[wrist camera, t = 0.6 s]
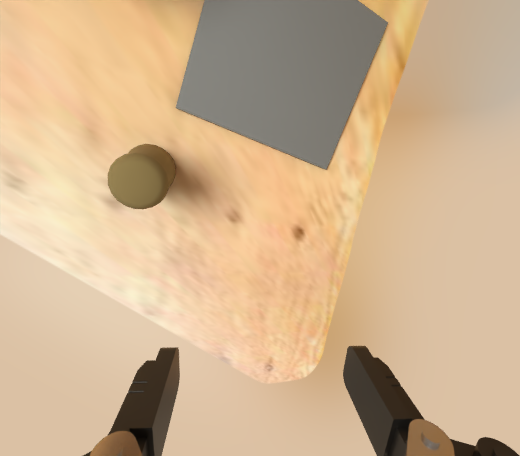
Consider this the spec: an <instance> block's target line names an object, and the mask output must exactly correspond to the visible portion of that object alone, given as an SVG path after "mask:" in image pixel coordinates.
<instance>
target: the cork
mask: <svg viewBox="0 0 520 456" xmlns="http://www.w3.org/2000/svg"><path fill="white" fill-rule="evenodd" d="M175 171H176V168H175V164H174V161H173V159H172V158H171V156H170V155H169V154H168V153H167V152H166V151H165V150H164V149H162V148H160V147H158V146H156V145H150V144H144V145H139V146H137V147H135V148H133V149H132V150H131V151H130V152H129V153H128V154H125V155H123V156H121V157H119V158H118V159H116V160H115V162H114V163H113V164H112V165H111V167H110V169H109V172H108V186H109V188H110V191H111V193H112V194H113V196H114V197H115V198H116V199H117V200H118V201H119V202H121V203H122V204H123V205H125V206H128V207H131V208H133V209H146V208H150V207H153V206H155V205H157V204H159V203H160V202H161V201H162V200H163V199H164V197H165V196H166V194H167V191H168V188H169V186H170V185H171V184H172V182H173V180H174V178H175Z"/></svg>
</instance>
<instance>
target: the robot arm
mask: <svg viewBox="0 0 520 456" xmlns="http://www.w3.org/2000/svg"><path fill="white" fill-rule="evenodd" d="M179 377H180V373H179V350H178V348H161V349H160V351H159V353H158V356H157V358H156V361H146V362H145V363H144V365H142V367H140V369H139V370H138V371H137V373H136V375H135V377H134V380H133V383H132V384H131V386H130V389H129V391H128V393H127V395H126V397H125V400H124V402H123V404H122V406H121V409H120V411H119V413H118V415H117V418H116V420H115V422H114V424H113V426H112V428H111V431H110V432H109V434H108V436H106V437H105V438H103V439H102V440H101V441H100V442H99V443H98V444H97V445H96V446H95V447H94V449H93V450H92V451H91V452H89V453H87V454H86V455H84V456H161V455H162V451H163V447H164V443H165V439H166V435H167V431H168V427H169V423H170V419H171V415H172V411H173V407H174V403H175V399H176V395H177V391H178V386H179ZM343 377H344V383H345V386H346V388H347V390H348V392H349V394H350V397H351V399H352V401H353V404H354V406H355V408H356V410H357V412H358V415H359V417H360V419H361V421H362V423H363V426H364V428H365V430H366V432H367V435H368V437H369V439H370V441H371V443H372V445H373V448H374V450H375V452H376V454H377V456H519V455H518V454H517V453H516V452H515V451H514V450H512V449H511V448H510V447H508V446H507V445H505V444H504V443H502V442H500V441H498V440H495V439H492V438H487V437H484V438H480V439H479V440H478V442H477V445H476V446H473V445H469V444H466V443H462V442H459V441H455V440H452V439H449V437H448V436H447V435H446V434H445V432H443V431H442V430H441V429H440V428H439V427H438V426H436V425H435V424H433V423H431V422H429V421H426V420H424V418H423V417H422V415H421V414H420V412H419V411H418V410H417V408H416V407H415V405H414V404H413V402H412V401H411V399H410V398H409V397H408V395H407V393H406V392H405V391H404V389H403V388H402V387H401V385H400V383H399V382H398V380H397V379H396V378H395V376H394V375H393V373H392V372H391V370H390V369H389V367H388V366H387V365H386V364H385V363H383V362H382V361H381V360H380V359H379V358H373V356H372V355H371V353H370V352H369V350H368V349H367V347H366V346H349V347H348V349H347V355H346V360H345V365H344V372H343Z"/></svg>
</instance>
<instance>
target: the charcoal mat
mask: <svg viewBox="0 0 520 456" xmlns="http://www.w3.org/2000/svg"><path fill="white" fill-rule="evenodd" d="M387 24H388V22H386V21H385V20H384V19H382V18H381V17H380V16H378V15H377V14H376V13H374V12H373V11H371V10H370V9H369V8H367V7H366V6H365V5H363V4H362V3H361V2H359V1H358V0H205V1H204V5H203V8H202V12H201V16H200V20H199V23H198V27H197V31H196V34H195V38H194V42H193V46H192V49H191V53H190V57H189V60H188V64H187V68H186V72H185V75H184V79H183V83H182V87H181V90H180V94H179V98H178V101H177V105H176V108H177V109H180V110H182V111H184V112H187V113H189V114H192V115H194V116H197V117H199V118H201V119H204V120H206V121H209V122H211V123H214V124H216V125H218V126H221V127H223V128H226V129H228V130H231V131H233V132H235V133H238V134H240V135H243V136H245V137H248V138H250V139H252V140H255V141H257V142H260V143H262V144H265V145H267V146H269V147H272V148H274V149H277V150H279V151H282V152H284V153H287V154H289V155H291V156H294V157H296V158H299V159H301V160H304V161H306V162H308V163H311V164H313V165H316V166H318V167H321V168H323V169H327V167H328V165H329V162H330V160H331V158H332V155H333V153H334V150H335V148H336V146H337V143H338V141H339V138H340V136H341V134H342V131H343V129H344V127H345V124H346V122H347V119H348V117H349V115H350V112H351V110H352V107H353V105H354V103H355V100H356V98H357V96H358V93H359V91H360V88H361V86H362V84H363V81H364V79H365V76H366V74H367V72H368V69H369V67H370V65H371V62H372V60H373V57H374V55H375V53H376V50H377V48H378V45H379V43H380V41H381V38H382V36H383V33H384V31H385V29H386V26H387Z"/></svg>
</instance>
